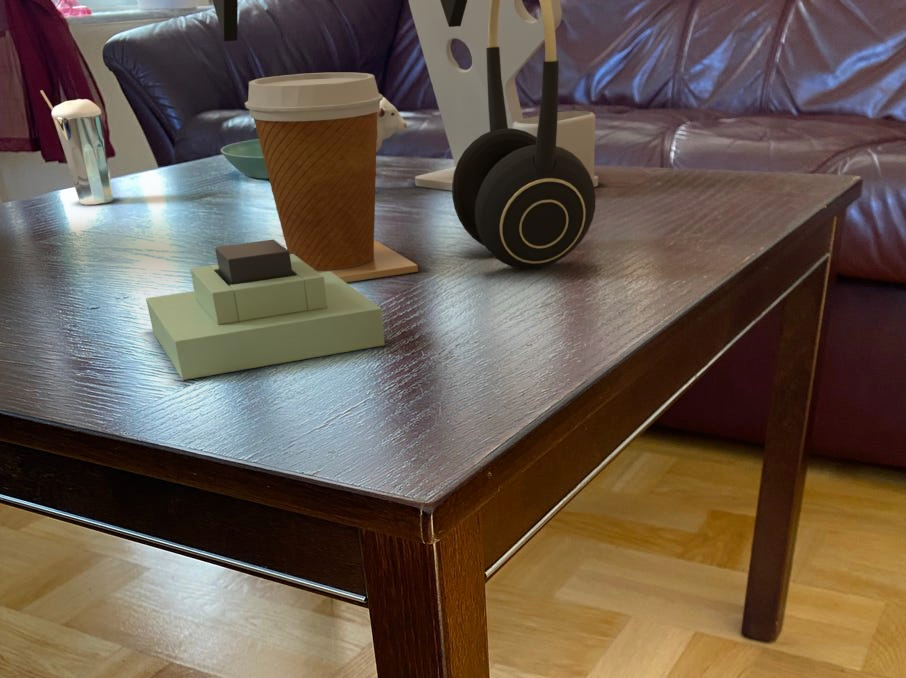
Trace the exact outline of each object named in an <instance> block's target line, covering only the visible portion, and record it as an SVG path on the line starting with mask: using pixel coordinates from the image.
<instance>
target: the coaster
mask: <svg viewBox="0 0 906 678" xmlns="http://www.w3.org/2000/svg"><path fill="white" fill-rule="evenodd" d="M315 271H317V272H318V273H322V272H329V271H331V272H332V273H333V274H335V275H336V276H338V277H339V278H340V279H342V280H343V281H344V282H346V283H353V282H361V281H365V280H373V279H380V278H386V277H393V276H398V275H405V274H412V273H417V272H419V266H418V264H417V263H415V262H413V261H411V260H410V259H408V258H406V257H405V256H403V255H401V254H400V253H398V252H396V251H394V250H393V249H391V248H389V247H388V246H386V245H384V244H382V243H381V242H379V241H378V240H375V239H374V258H373V259H372V260H370V261H368V262H366V263H364V264H361V265H358V266H353V267H348V268H343V269H331V270H315Z"/></svg>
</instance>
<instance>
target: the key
mask: <svg viewBox="0 0 906 678" xmlns="http://www.w3.org/2000/svg"><path fill="white" fill-rule="evenodd" d="M214 250H215V255H216V261H217V264H218V267H219V273H220V277H221V278H222V279H223V280H224V281H225V282H226V283H227V284H228V285H229V286H230V285H235V284H241V283H248V282H255V281H262V280H269V279H276V278H283V277H290V276H293V274H292V267H291V259H290V252H289V251H288V250H287V248H285V247H284V246H283V245H282V244H281V243H279V242H278V241H276V240H275V239H266V240H259V241H251V242H244V243H235V244H229V245H222V246H216V247H215V249H214Z"/></svg>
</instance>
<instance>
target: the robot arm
mask: <svg viewBox="0 0 906 678" xmlns="http://www.w3.org/2000/svg"><path fill="white" fill-rule="evenodd" d="M238 1H239V0H212V4H213V8H214V11H215V15H216V18H217V21H218V25H219V28H220V32H221V35H222V39H223V42H237V41H238V22H239V21H238V15H239V14H238V13H239V12H238V10H239V9H238V7H239V5H238ZM440 1H441V4H442V7H443V10H444V13H445V17H446V20H447V23H448V26H449V27H456V26H461V23H462V19H463V15H464V11H465V8H466V4H467V0H440Z"/></svg>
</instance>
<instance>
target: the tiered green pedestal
mask: <svg viewBox="0 0 906 678" xmlns="http://www.w3.org/2000/svg"><path fill="white" fill-rule="evenodd" d="M290 259H291V267H292V274H293V276H290V277H283V278H276V279H269V280H262V281H255V282H248V283H241V284H235V285H230V286H229V285H228V284H227V283H226V282H225V281H224V280H223V279H222V278H221V277H220V273H219V267H218V263H217V264H210V265H203V266H196V267H195V266H194V267H190V268H189V271H190V276H191V280H192V286H193V290H191V291H185V292H179V293H172V294H166V295H165V294H164V295H158V296H152V297H145V300H146V306H147V311H148V315H149V319H150V325H151V328H152V329H151V330H152V333H153V335H154V337H155V338H156V340H157V341H158V343H159V344H160V346H161V347H162V349H163V351H164V352H165V354H166V355H167V357H168V359H169V360H170V362H171V363H172V365H173V367H174V368H175V370H176V371H177V373H178V375H179V376H180V378H181V379H182V380H183V381H186V380H192V379H198V378H204V377H209V376H215V375H222V374H226V373H232V372H238V371H244V370H249V369H256V368H261V367H267V366H273V365H278V364H284V363H289V362H290V363H291V362H295V361H296V362H297V361H301V360H307V359H313V358H318V357H326V356H330V355H337V354H343V353H347V352H354V351H359V350H364V349H365V350H366V349H372V348H377V347H382V346H385V344H386V343H385V334H384V333H385V331H384V322H383V321H384V320H383V311H382V310H383V309H382V308H381V307H380V306H379V305H377V304H376V303H375V302H373V301H372V300H370V299H369V298H368V297H366V295H364V294H362V293H361V292H360V291H358V290H357V289H355V288H354V287H353V286H352V285H350V284H349V283H348V282H344V281H343V280H342V279H340V278H339V277H338V276H336V275H335V274H333V273H332V272H331V271H329V272H322V273H318V272H317V271H315V270H314V269H313V268H311V267H310V266H309V265H307V264H306V263H305V262H303V261H302V260H301V259H300V258H298V257H297V256H296V255H294V254H290Z"/></svg>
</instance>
